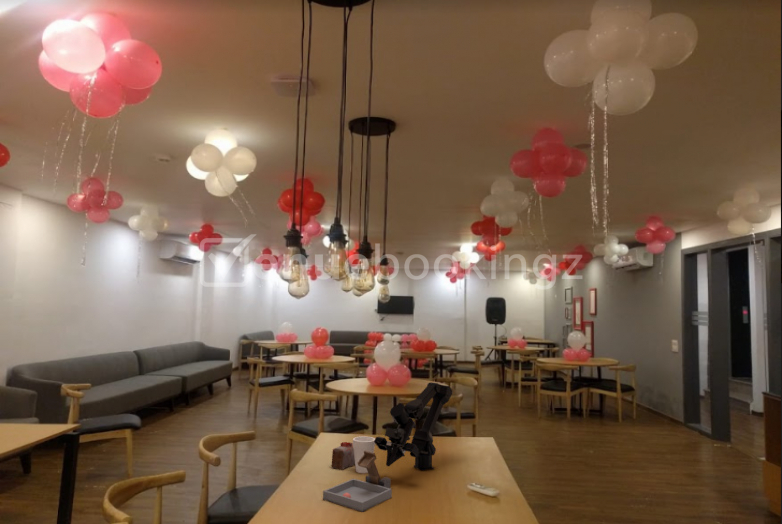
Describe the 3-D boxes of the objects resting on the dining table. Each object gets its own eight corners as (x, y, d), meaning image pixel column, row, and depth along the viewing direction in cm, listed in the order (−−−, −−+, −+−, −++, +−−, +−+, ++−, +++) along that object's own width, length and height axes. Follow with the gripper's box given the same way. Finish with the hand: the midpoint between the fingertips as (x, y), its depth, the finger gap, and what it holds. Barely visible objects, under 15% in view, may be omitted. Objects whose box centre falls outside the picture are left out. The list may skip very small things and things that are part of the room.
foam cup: (371, 475, 217) (372, 442, 218) (349, 473, 219) (350, 441, 220) (376, 468, 226) (377, 437, 227) (355, 466, 228) (356, 435, 229)
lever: (375, 481, 204) (364, 450, 199) (385, 484, 201) (374, 453, 196) (368, 491, 200) (356, 460, 195) (378, 494, 197) (366, 463, 192)
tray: (353, 486, 203) (353, 478, 203) (391, 497, 193) (391, 489, 193) (322, 499, 189) (323, 490, 190) (362, 512, 179) (362, 502, 179)
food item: (346, 459, 237) (346, 437, 238) (361, 462, 234) (362, 439, 235) (329, 468, 225) (330, 444, 226) (345, 471, 222) (346, 447, 222)
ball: (340, 500, 185) (344, 504, 186) (348, 498, 184) (351, 502, 185) (341, 492, 187) (345, 496, 189) (348, 490, 186) (352, 494, 188)
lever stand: (371, 485, 205) (372, 473, 206) (390, 490, 200) (390, 478, 200) (365, 488, 202) (365, 476, 202) (384, 493, 197) (384, 481, 197)
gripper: (377, 416, 217) (359, 449, 208) (415, 423, 206) (399, 459, 197) (388, 432, 223) (371, 465, 213) (425, 439, 212) (410, 475, 203)
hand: (387, 465), depth 206 cm, fingers closed
